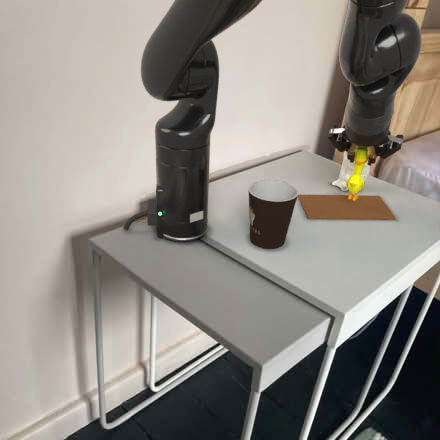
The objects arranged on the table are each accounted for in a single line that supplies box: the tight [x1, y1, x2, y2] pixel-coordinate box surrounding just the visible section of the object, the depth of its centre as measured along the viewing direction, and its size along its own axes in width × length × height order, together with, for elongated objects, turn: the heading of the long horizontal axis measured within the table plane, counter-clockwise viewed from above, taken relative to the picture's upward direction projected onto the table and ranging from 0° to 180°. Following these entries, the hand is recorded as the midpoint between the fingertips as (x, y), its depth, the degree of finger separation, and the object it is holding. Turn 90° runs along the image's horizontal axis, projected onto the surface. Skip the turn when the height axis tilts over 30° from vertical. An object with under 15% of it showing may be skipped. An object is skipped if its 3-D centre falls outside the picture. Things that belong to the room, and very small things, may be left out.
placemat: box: [297, 194, 396, 221], centre depth 104 cm, size 18×10×1 cm, turn 94°
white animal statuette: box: [331, 141, 371, 192], centre depth 109 cm, size 8×7×12 cm
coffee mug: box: [248, 179, 299, 250], centre depth 90 cm, size 12×9×10 cm
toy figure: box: [346, 147, 369, 201], centre depth 99 cm, size 7×4×12 cm, turn 152°
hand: (361, 159), depth 100 cm, fingers closed on toy figure, 3 cm apart
